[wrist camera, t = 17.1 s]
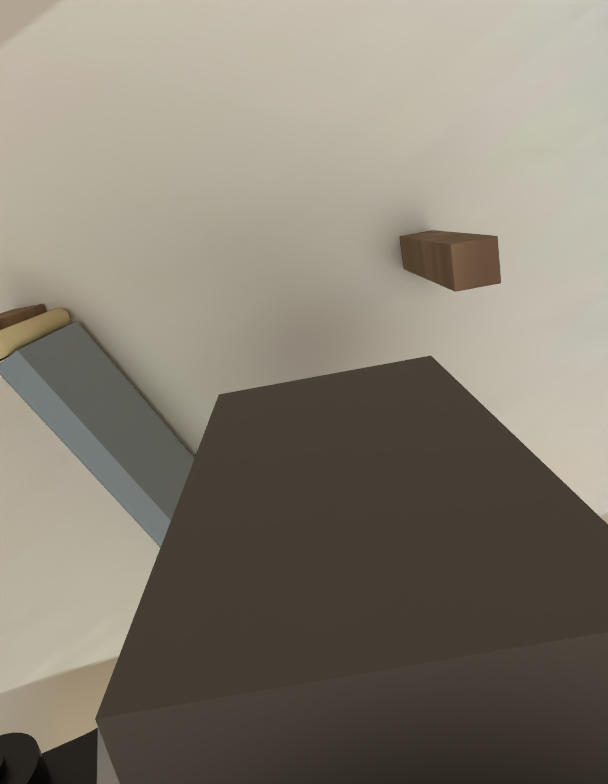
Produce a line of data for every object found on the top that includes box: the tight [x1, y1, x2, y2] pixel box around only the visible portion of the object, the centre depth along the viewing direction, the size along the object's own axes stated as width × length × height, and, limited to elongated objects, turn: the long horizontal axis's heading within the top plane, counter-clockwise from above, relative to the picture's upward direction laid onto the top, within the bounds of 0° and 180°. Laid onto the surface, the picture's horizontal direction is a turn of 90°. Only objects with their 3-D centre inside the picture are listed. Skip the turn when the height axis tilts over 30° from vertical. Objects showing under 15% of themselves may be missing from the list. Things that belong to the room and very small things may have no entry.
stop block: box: [95, 356, 608, 784], centre depth 9 cm, size 4×7×8 cm, turn 10°
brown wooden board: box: [0, 230, 501, 361], centre depth 24 cm, size 21×2×9 cm, turn 100°
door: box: [0, 308, 194, 548], centre depth 27 cm, size 18×3×6 cm, turn 36°
